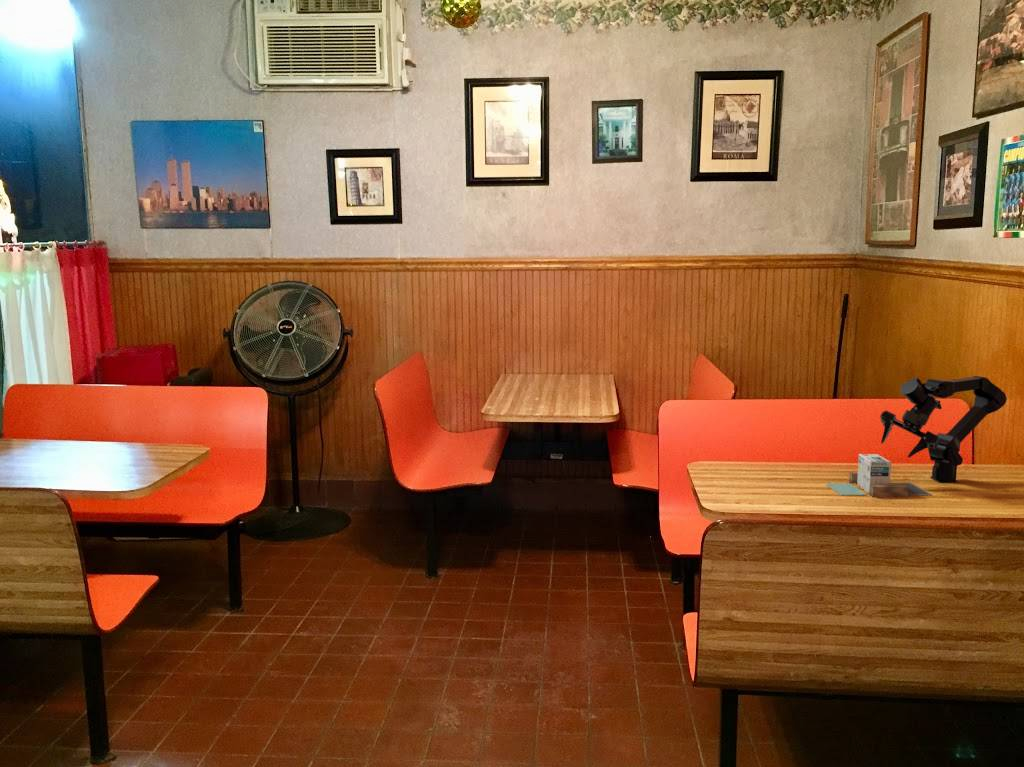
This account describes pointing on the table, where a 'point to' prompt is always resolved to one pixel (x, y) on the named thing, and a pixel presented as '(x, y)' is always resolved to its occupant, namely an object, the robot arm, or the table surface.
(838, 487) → the teal pad
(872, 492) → the walnut track
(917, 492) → the mat
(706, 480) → the table surface
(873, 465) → the light bulb box
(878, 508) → the table surface
